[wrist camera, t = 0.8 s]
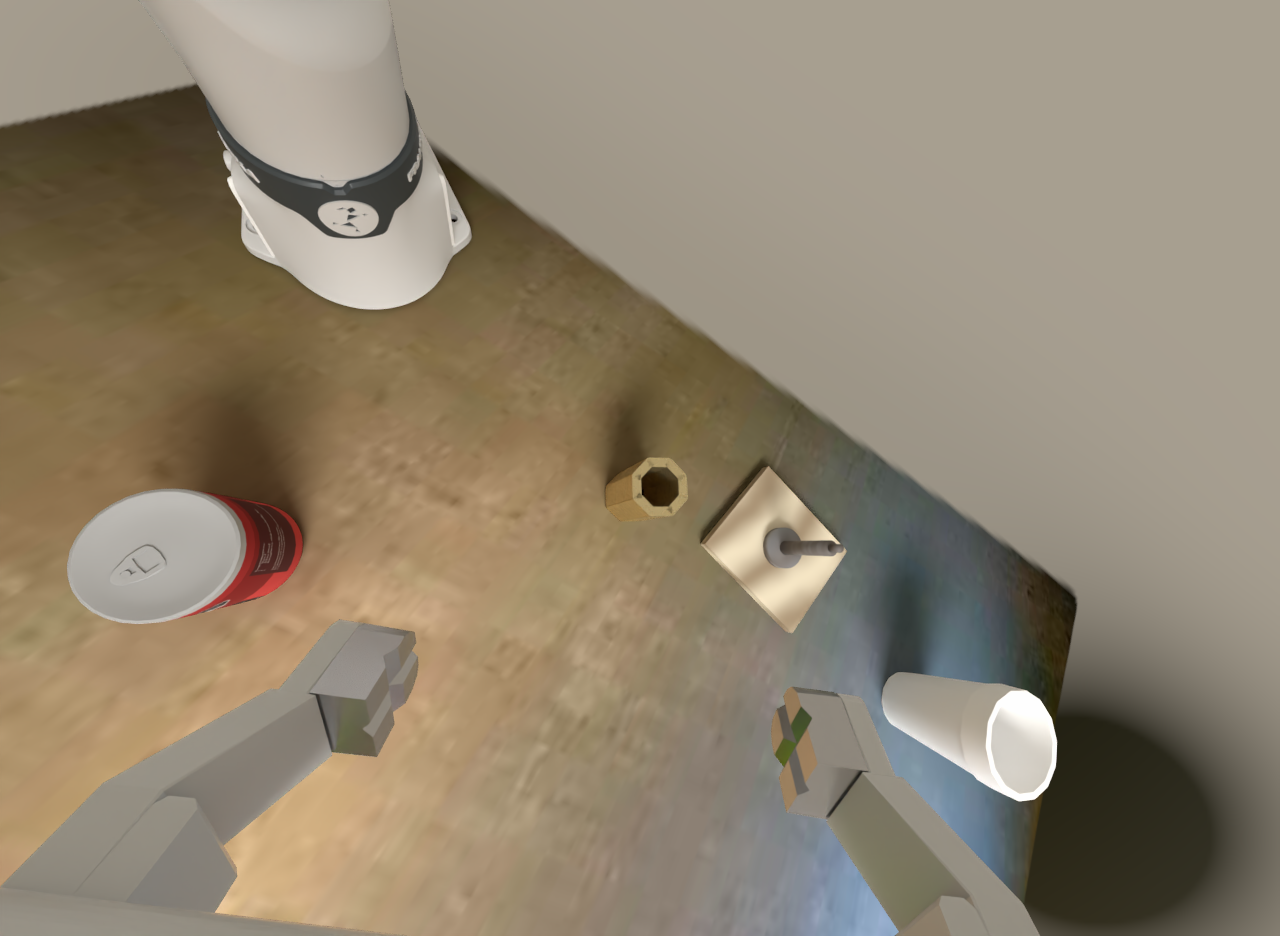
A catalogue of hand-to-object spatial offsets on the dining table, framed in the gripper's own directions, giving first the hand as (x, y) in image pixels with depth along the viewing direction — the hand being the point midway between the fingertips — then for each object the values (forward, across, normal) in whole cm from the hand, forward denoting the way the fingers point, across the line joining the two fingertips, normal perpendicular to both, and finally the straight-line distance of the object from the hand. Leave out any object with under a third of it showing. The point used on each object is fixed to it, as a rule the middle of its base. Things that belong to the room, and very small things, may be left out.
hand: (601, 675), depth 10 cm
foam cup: (+29, -37, +36) cm, 60 cm away
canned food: (+21, +28, +20) cm, 41 cm away
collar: (+34, -1, +17) cm, 38 cm away
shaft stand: (+35, -18, +22) cm, 45 cm away
